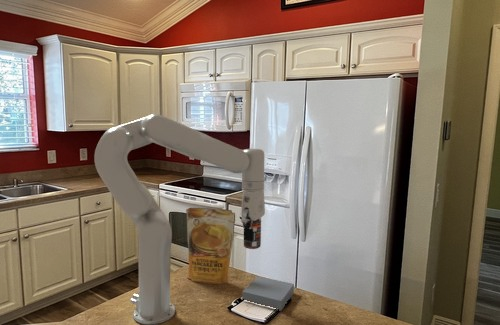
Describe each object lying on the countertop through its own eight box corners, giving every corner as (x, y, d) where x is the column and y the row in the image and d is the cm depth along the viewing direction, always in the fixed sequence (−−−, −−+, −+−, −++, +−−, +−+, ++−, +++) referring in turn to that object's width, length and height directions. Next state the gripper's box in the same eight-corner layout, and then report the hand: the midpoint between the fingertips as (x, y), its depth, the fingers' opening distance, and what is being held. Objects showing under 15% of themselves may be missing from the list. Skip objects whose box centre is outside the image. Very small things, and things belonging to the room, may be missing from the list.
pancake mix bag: (188, 273, 136) (189, 205, 134) (234, 278, 133) (236, 209, 131) (182, 280, 130) (182, 209, 127) (230, 286, 127) (232, 213, 124)
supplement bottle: (259, 250, 113) (259, 217, 112) (241, 249, 114) (242, 216, 113) (262, 244, 119) (262, 212, 117) (245, 243, 120) (245, 212, 119)
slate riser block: (242, 301, 116) (242, 291, 115) (258, 284, 128) (258, 276, 128) (280, 311, 110) (281, 300, 109) (293, 293, 122) (294, 283, 122)
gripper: (252, 190, 105) (252, 246, 107) (272, 182, 121) (271, 231, 122) (231, 188, 108) (231, 243, 110) (252, 181, 124) (252, 229, 125)
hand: (252, 236), depth 116 cm, fingers closed on supplement bottle, 5 cm apart
